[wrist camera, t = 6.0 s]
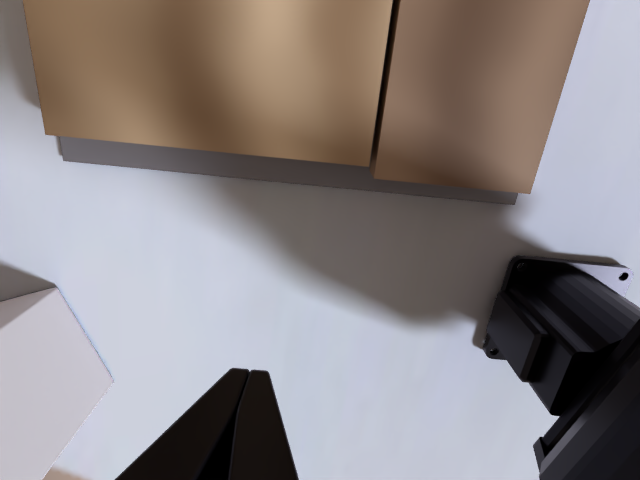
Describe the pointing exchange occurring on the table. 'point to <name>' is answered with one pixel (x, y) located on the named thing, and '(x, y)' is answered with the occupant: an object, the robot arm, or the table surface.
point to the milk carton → (43, 382)
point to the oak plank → (213, 73)
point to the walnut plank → (472, 90)
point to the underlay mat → (262, 167)
